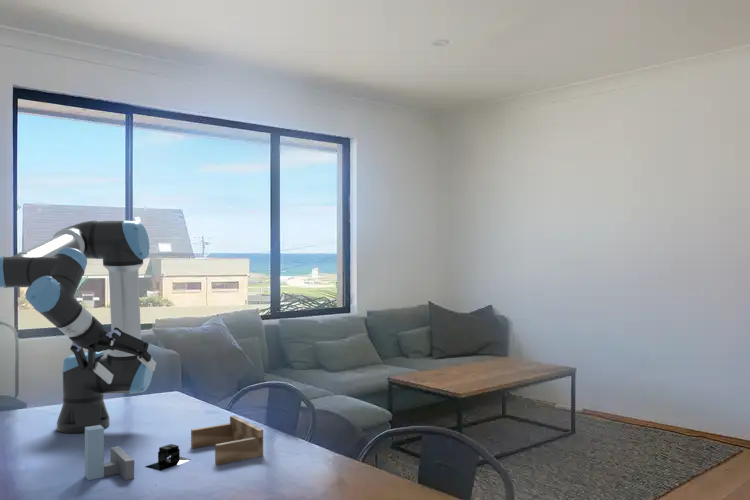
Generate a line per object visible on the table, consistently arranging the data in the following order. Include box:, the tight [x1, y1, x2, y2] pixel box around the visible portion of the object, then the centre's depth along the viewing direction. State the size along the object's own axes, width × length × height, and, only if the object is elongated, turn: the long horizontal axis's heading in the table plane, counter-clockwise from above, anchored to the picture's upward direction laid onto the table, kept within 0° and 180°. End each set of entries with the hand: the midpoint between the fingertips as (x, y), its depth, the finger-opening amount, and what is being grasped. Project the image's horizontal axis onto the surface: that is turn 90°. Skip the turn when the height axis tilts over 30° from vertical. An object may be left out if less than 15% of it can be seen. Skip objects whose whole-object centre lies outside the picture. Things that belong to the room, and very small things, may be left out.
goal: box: [190, 415, 264, 466], centre depth 179 cm, size 19×13×7 cm
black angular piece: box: [144, 443, 192, 472], centre depth 170 cm, size 13×8×5 cm, turn 147°
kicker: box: [84, 425, 135, 481], centre depth 161 cm, size 14×9×12 cm, turn 36°
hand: (132, 373), depth 174 cm, fingers open, 13 cm apart
